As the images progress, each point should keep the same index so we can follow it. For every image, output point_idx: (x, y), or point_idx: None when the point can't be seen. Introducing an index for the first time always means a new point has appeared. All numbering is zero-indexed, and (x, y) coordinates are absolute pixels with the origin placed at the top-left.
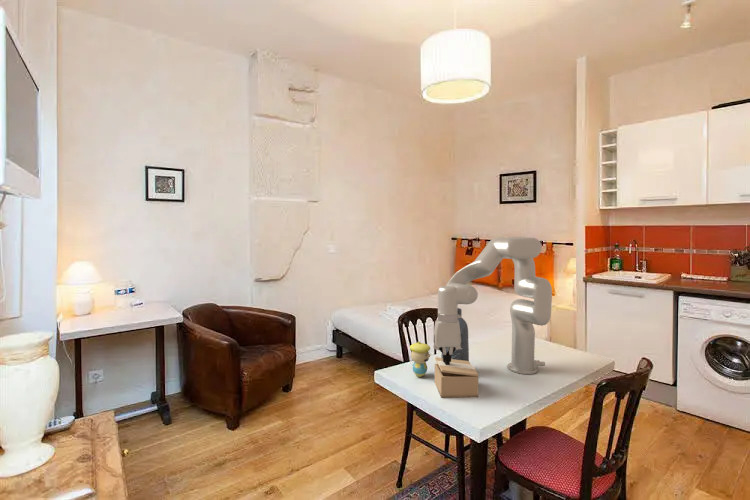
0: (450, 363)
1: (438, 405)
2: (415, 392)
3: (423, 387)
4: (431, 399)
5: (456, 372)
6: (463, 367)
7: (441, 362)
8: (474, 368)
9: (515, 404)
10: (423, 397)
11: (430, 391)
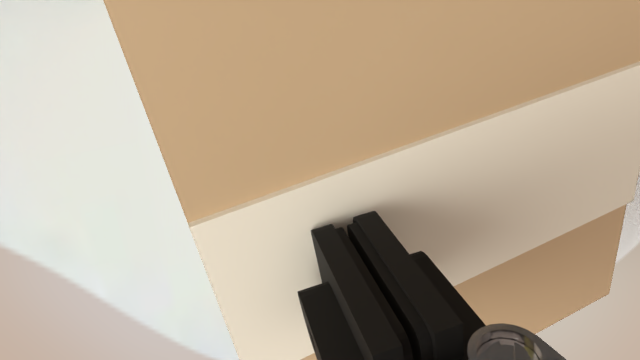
0: (401, 210)
1: (227, 357)
2: (3, 239)
3: (47, 122)
4: (170, 305)
5: None
6: (532, 236)
7: (267, 266)
8: (635, 180)
9: (633, 221)
10: (102, 297)
11: (137, 188)
